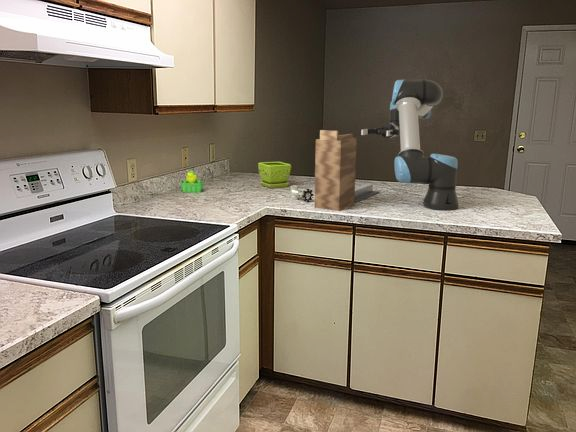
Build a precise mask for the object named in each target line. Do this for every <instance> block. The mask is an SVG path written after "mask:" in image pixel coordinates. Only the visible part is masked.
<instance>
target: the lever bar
mask: <svg viewBox="0 0 576 432" xmlns="http://www.w3.org/2000/svg"><path fill="white" fill-rule="evenodd" d="M373 189H374V184H373V183H365V184H362V185H360V186H355V198H357V197H359V196H362V195H364V194H367V193H369V192H371V191H374V190H373Z"/></svg>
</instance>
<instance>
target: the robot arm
mask: <svg viewBox="0 0 576 432" xmlns="http://www.w3.org/2000/svg"><path fill="white" fill-rule="evenodd" d="M392 91H393V92H392V96H391V102H390V104H389V121H388V123H384V124H383V125H382V126H381V127H373V128H362V129H361V132H360V133H361V134H360V135H361V136H367V135H380V136H382V137H383V138H384V139H385V138H386V139H388V138H389V139H392V138H394V137H399V138H400V139H399V140H400V141H399V143H400V151H399V153H398V154H397V156H396V157H395V158H394V163H393V164H394V165H393V166H394V174H395V175H394V176H395V178H396V181H397V182H399V183H401V184H428V186H427V187H428V188H427V192H426V193H425V197H424V198H423V203H422V206H423V207H424V208H427V209H430V210H437V211H454V210H457V209H459V200H458V195H457V191H456V189H457V188H456V187H457V179H458V177H457V174H458V164H459V163H458V159H457V158H456V156H452V155H451V156H450V155H447V154H439V153H431V154H430V155H429V156H425V153H424V151H423V150H421V142H420V140H421V138H420V125H419V119H421V120H423V119H425V120H426V119H430V117H431V116H432V108H434V107H435V106H437V105H439V104H440V103H441V101H442V100H443V97H444V92H443V89H442V87H441V86H440V84H438V83H437V82H435V81H434V80H430V79H397V80H396V81H394V85H393V90H392Z"/></svg>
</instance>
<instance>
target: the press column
mask: <svg viewBox="0 0 576 432" xmlns="http://www.w3.org/2000/svg"><path fill="white" fill-rule="evenodd" d="M353 134H354V133H347V134H340V133H339V130H327V129H325V130H324V129H320V130H319V138H317V139H315V152H314V155H315V158H314V161H315V163H314V164H315V166H314V208H315V209H323V210H330V211H338V212H339V211H342V210H344V209H346V208H349V207H351V206H353V205H355V203H354V198H355V188H356V168H357V167H356V164H357V137H354V136H353Z"/></svg>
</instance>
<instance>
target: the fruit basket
mask: <svg viewBox="0 0 576 432" xmlns="http://www.w3.org/2000/svg"><path fill="white" fill-rule="evenodd" d="M179 183H180V187H181V190H182V192H183V193H197V194H198V193H201V192H202V191H203V186H204V183H205V181H204V180H199V179H198V177H197V174H196V173H195V172H194V171H193V170H189V171H188V172H187V173H186V179H185V180H181V182H179Z"/></svg>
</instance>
